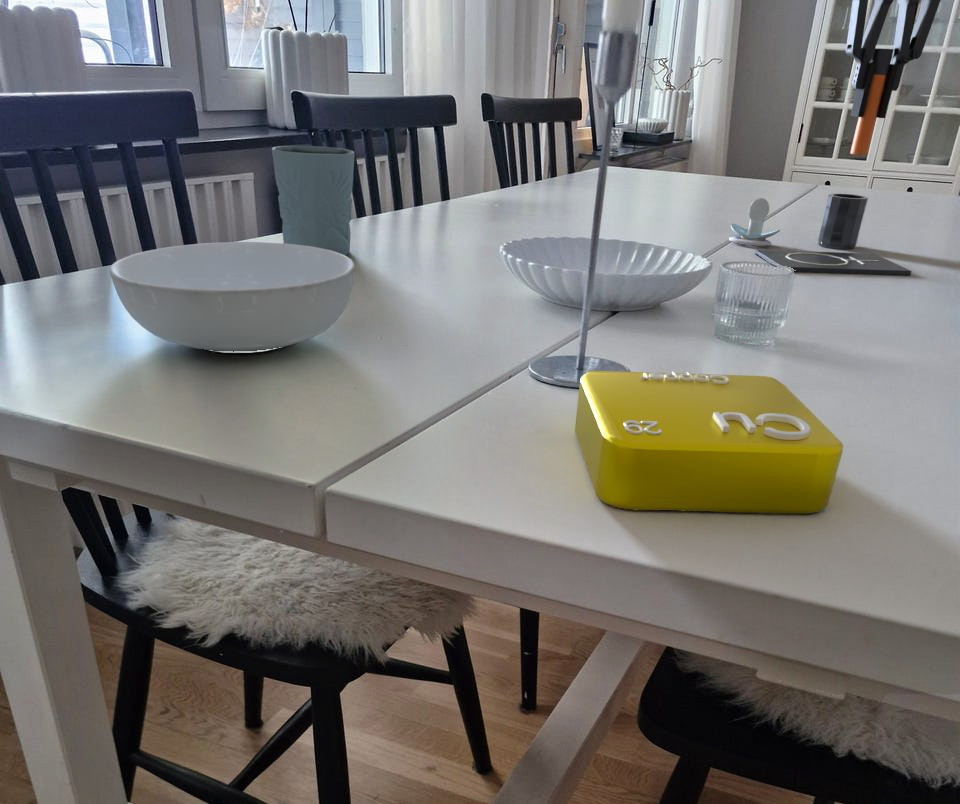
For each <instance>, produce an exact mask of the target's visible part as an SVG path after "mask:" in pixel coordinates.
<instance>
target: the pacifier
mask: <svg viewBox="0 0 960 804" xmlns="http://www.w3.org/2000/svg"><path fill="white" fill-rule="evenodd" d="M769 213H770V204H769V202H768V200H766V198H763V197H758V198H756V199H754V200H753V201H752V202H751V203H750V204H749V207H748V218H749V222H748V228H747V229H746V228H744V227H742V226H740V225H738V224H736V223H731V225H730V228H731V230H732V231H733V232H734V233H735V234H736V235H735V236H730V237H729V238H728V240H729V241H730V242H731V241H732V242H731V243H734V242H735V243H734V244H738V243H739V244H738V245H744V244H745V246H752V245H754V247H768V246H770V245H772V241H770V240H768V239H767V238H770V237H773V236H775V235H776V234H778V233H779V232H780V231H781V229H780V228H779V229H777V230H773V231H768V232H765V233H762V232H763V229H764V223H765V219H766V218H767V217H768V215H769Z"/></svg>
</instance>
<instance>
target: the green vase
mask: <svg viewBox="0 0 960 804" xmlns="http://www.w3.org/2000/svg"><path fill="white" fill-rule="evenodd" d="M271 153H272V161H273V169H274V175H275V182H276V183H275V184H276V186H277V191H278V193H279V195H278V197H277V198H278V199H277V200H278V206H279V213H280V214H279V215H280V219H282V223H281V224H282V225H281V231H282V241H283V244H294V245H304V246H311V247H317V248H322V249H326V250H331V251H334V252H337V253H340V254H342V255H345V256H348V255H349V254H350V250H351V249H350V248H351V233H352V232H351V225H350V222H351V221H352V204H353V199H352V198H351V196H352V193H353V187H354V170H355V169H354V167H355V155H356V154H355V151H354V150H351V149H346V148H340V147H331V146H319V145H317V146H316V145H281V146H280V145H279V146H273V147H272V148H271Z"/></svg>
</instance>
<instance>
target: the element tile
mask: <svg viewBox="0 0 960 804" xmlns="http://www.w3.org/2000/svg"><path fill="white" fill-rule="evenodd" d="M580 377H581V378H580V380H579V386H578V396H577V406H576V416H575V426H574V432H575V436H576V435H577V436H576V438H578V439H577V441H578V444H580V445H579V447H581V448H580V450H582V451H581V452H582V456H583V460H584V462H585V465H586V468H587V471H588V475H589V478H590V480H591V483H592V486H593V488H594V492H595V495H596V496H597V497H598V499H599V500H600V501H602V502H603V503H604V504H606V503H607V504H606V505H608V504H609V505H608V506H610V505H612V506H611V507H613V506H614V507H613V508H616V507H620V508H619V509H621V508H624V509H623V510H627V509H637V510H636V511H646V510H680V511H679V512H682V511H681V510H684V511H683V512H689V511H715V512H714V513H732V514H733V513H734V512H737V514H774V515H775V514H779V515H781V514H782V515H809V514H808V513H810V514H814V512H815V513H820V512H821V511H823V510H824V509H826V508H827V506H828V504H829V502H830V498H831V495H832V494H831V493H832V490H833V487H834V483H835V479H836V476H837V473H838V470H839V466H840V462H841V458H842V454H843V451H844V444H843V442H842V441H841V440H840V439H839V438H838V437H837V436H836V435H835V434H834V433H833V432H832V431H831V430H830V429H829V428H828V427H827V426H826V425H825V424H824V423H823V422H822V421H821V420H820V419H819V418H818V417H817V416H816V415H815V414H814V413H813V412H812V411H811V410H810V409H809V408H808V407H807V406H806V405H805V404H804V403H803V402H802V401H801V400H800V398H798V397H797V396H796V395H795V394H794V393H793V392H792V391H791V390H790V389H789V387H787V386H786V385H785V384H784V383H782V382H781V381H779V380H778V379H776V378H774V377H772V376H767V375H766V376H765V375H749V374H748V375H745V374H744V375H743V374H715V373H713V374H711V373H710V374H709V373H691V372H686V373H684V372H683V373H681V372H679V373H677V372H675V371H672V372H653V371H651V372H649V371H646V372H645V371H619V370H618V371H617V370H616V371H614V370H589V371H587V372H586V373H585V374H583V375H582V376H580ZM806 513H807V514H806Z"/></svg>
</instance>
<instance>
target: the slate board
mask: <svg viewBox="0 0 960 804" xmlns="http://www.w3.org/2000/svg"><path fill="white" fill-rule="evenodd" d="M754 253H757V254H758V255H759V256H761V257H762V258H763V259H765V260H767V261H770V262H769V263H768V264H770V263H774V264H778V265H782V266H787V267H791V268H793V269H794V270H796V271H797V272H796V273H818V274H819V273H820V274H852V275H853V274H855V275H884V276H885V275H886V276H911V275H912V271H913V270H911V269H908V268H906V267H904V266H902V265H900V264H897V263H895V262H893V261H891V260H889V259H886V258H885V257H882V256H880V255H878V254H876V253H867V252H865V253H864V252H841V251H840V252H838V251H837V252H836V251H835V252H834V251H809V250H805V251H804V250H782V249H781V250H780V249H779V250H777V249H776V250H775V249H774V250H773V249H754ZM759 256H758V257H759ZM762 258H761V259H762ZM763 259H762V260H763ZM765 260H764V261H765ZM767 261H766V262H767Z"/></svg>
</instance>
